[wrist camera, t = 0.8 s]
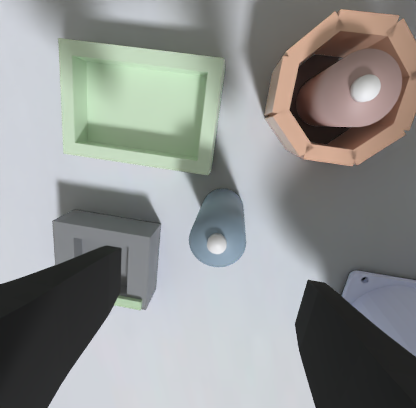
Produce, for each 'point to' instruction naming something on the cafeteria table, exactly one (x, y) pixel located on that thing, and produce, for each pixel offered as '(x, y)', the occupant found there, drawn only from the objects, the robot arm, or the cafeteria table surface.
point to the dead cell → (351, 91)
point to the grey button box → (117, 237)
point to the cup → (341, 47)
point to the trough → (140, 105)
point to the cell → (219, 229)
